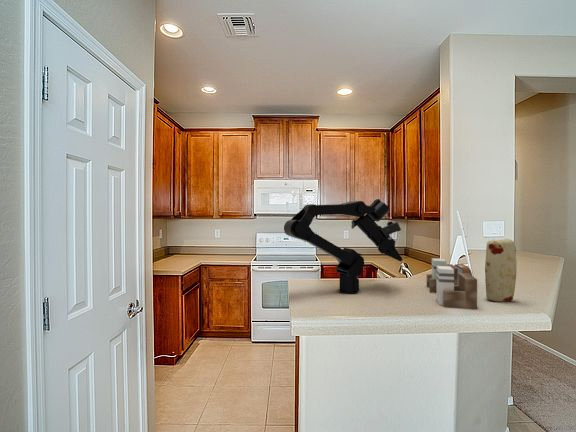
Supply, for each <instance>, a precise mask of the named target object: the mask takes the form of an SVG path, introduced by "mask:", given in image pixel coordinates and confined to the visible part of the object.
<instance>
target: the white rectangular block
mask: <svg viewBox="0 0 576 432" xmlns="http://www.w3.org/2000/svg"><path fill="white" fill-rule="evenodd" d="M436 273H437V275H436V278H437V293H436V301H437V303H438V305H439V306H443V290H449V291H454V269H453V268H451V267H450V266H437V270H436Z"/></svg>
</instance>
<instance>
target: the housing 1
mask: <svg viewBox="0 0 576 432" xmlns="http://www.w3.org/2000/svg"><path fill="white" fill-rule="evenodd" d="M446 266H450V267H451V268H453V269H454V285H458V269H457V268H456V267H455V266H454V265H453V264H451V263H450V264H448V263H446ZM426 288H429V293H430V294H437V279H432V273H426Z"/></svg>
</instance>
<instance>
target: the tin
mask: <svg viewBox="0 0 576 432" xmlns="http://www.w3.org/2000/svg"><path fill="white" fill-rule="evenodd" d="M453 266H455V267H456V268H457V269H458V273H469V274H470V275H472V276H473V272H472V270H471V268H470V267H469V266H467V265H465V264H464V263H457V264H454V265H453Z"/></svg>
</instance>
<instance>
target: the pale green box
mask: <svg viewBox="0 0 576 432" xmlns="http://www.w3.org/2000/svg"><path fill="white" fill-rule="evenodd" d="M430 264H431V265H430V266H431V274H432V279H437V278H436V275H437V273H436V270H437V266H446V264H447V260H446V259H444V258H435V257H433V258H431V263H430Z"/></svg>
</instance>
